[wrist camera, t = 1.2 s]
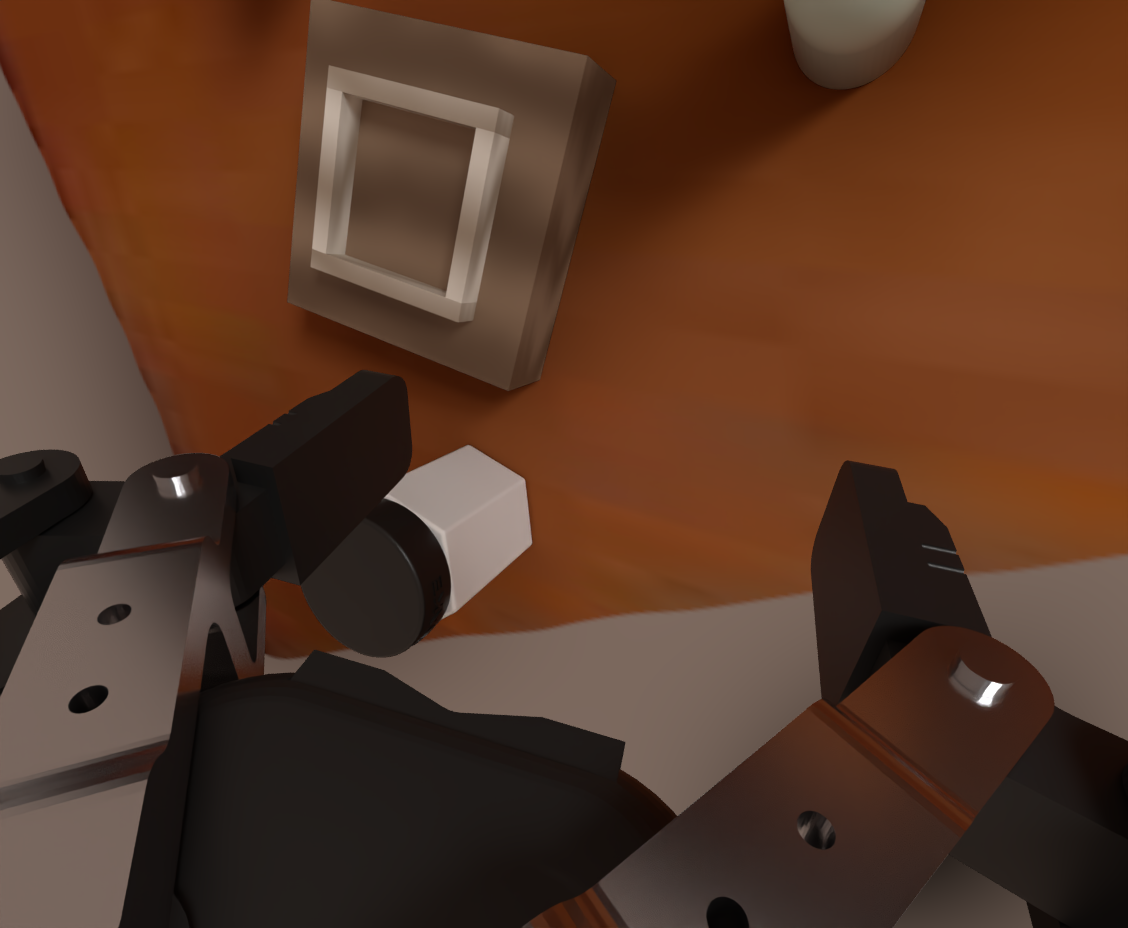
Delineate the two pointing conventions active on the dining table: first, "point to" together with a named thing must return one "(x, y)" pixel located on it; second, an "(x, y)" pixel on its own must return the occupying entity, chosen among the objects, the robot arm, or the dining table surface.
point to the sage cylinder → (850, 38)
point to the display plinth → (442, 186)
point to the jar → (421, 553)
